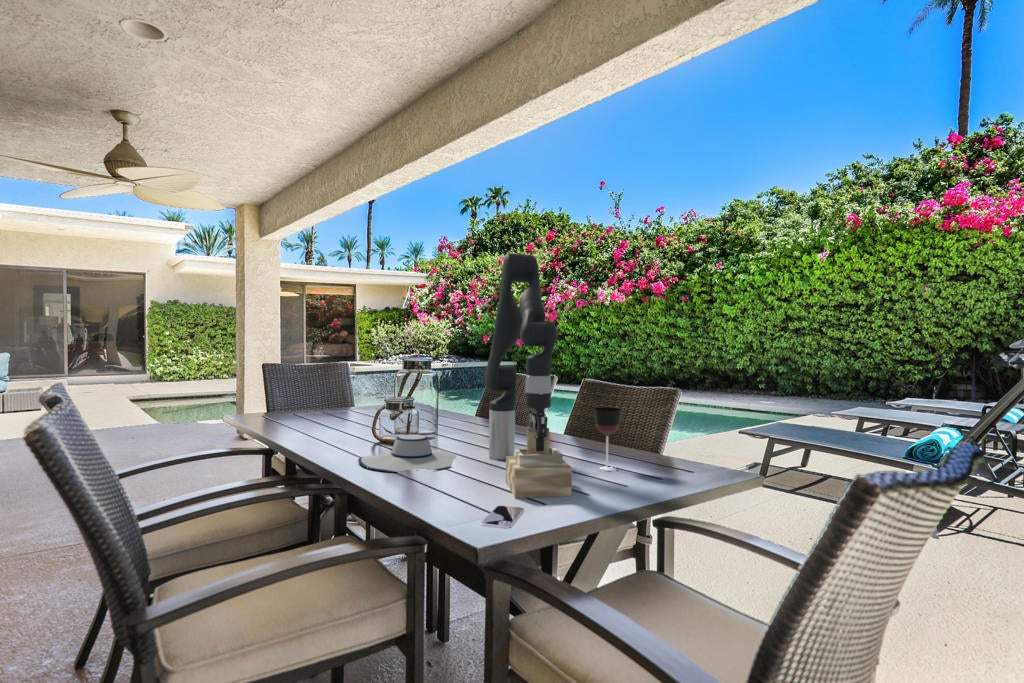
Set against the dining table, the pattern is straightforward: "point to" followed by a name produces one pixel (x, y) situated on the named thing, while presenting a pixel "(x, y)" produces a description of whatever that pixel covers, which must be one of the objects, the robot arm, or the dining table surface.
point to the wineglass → (607, 425)
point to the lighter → (532, 441)
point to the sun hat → (410, 456)
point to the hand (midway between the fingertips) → (537, 448)
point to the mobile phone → (502, 516)
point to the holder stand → (538, 474)
